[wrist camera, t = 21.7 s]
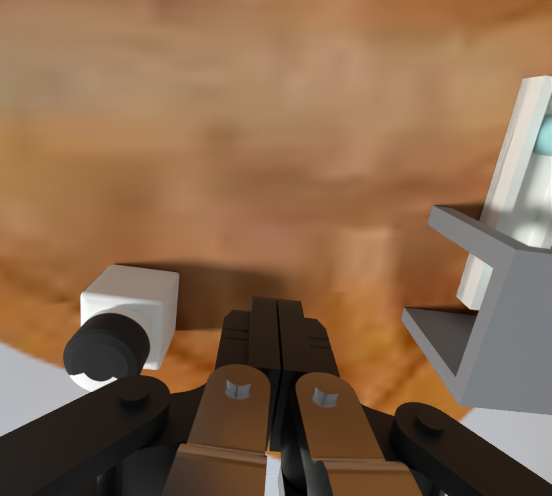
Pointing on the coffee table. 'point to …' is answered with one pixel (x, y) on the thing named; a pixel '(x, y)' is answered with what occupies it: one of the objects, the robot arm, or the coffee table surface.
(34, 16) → the coffee table surface
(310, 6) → the coffee table surface
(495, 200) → the tray
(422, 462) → the robot arm
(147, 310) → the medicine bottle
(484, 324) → the grey stand
